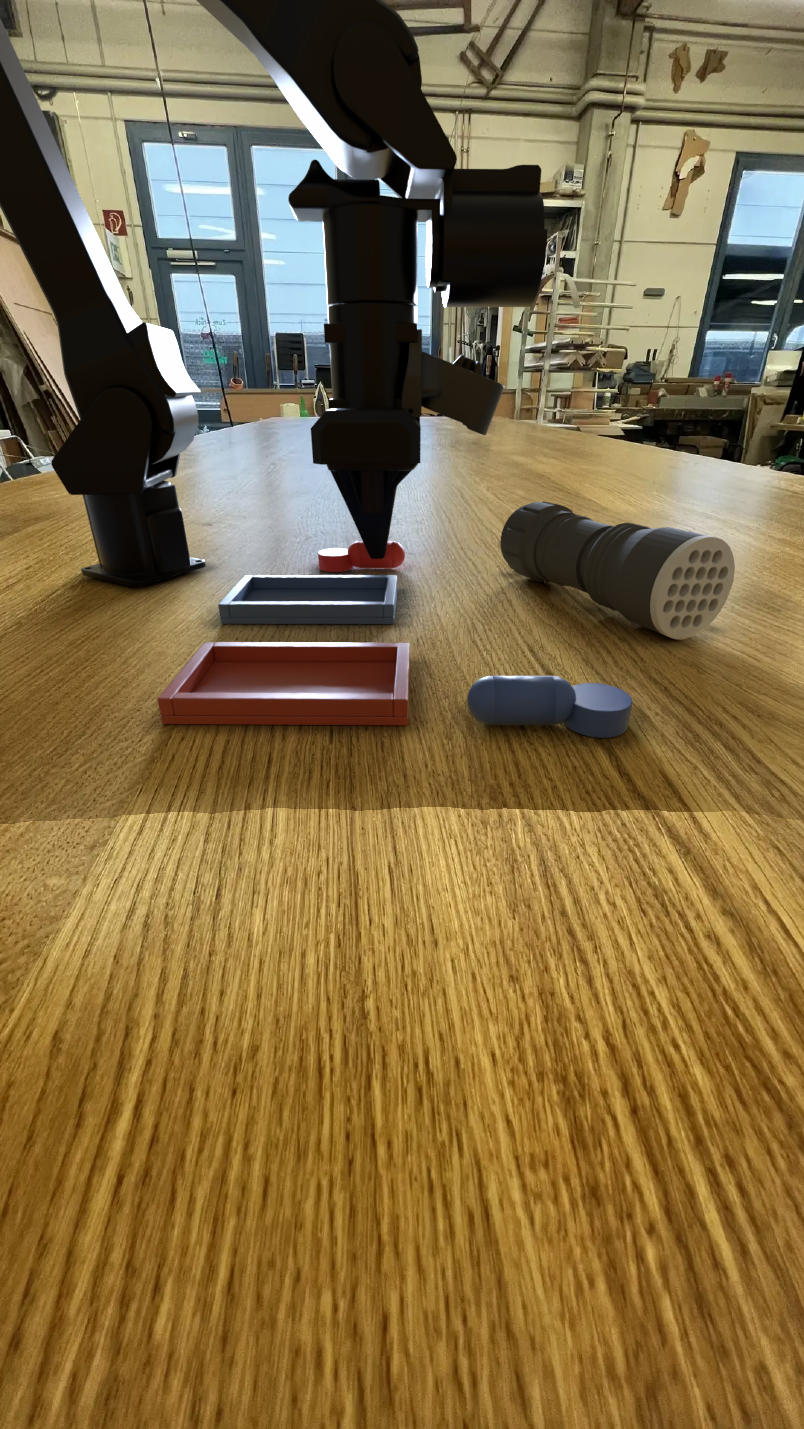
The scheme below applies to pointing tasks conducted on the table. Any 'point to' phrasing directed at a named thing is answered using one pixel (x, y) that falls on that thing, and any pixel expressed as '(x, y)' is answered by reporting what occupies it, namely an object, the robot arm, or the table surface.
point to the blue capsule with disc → (550, 704)
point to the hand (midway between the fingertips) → (378, 554)
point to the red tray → (291, 684)
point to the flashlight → (624, 566)
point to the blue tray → (311, 600)
